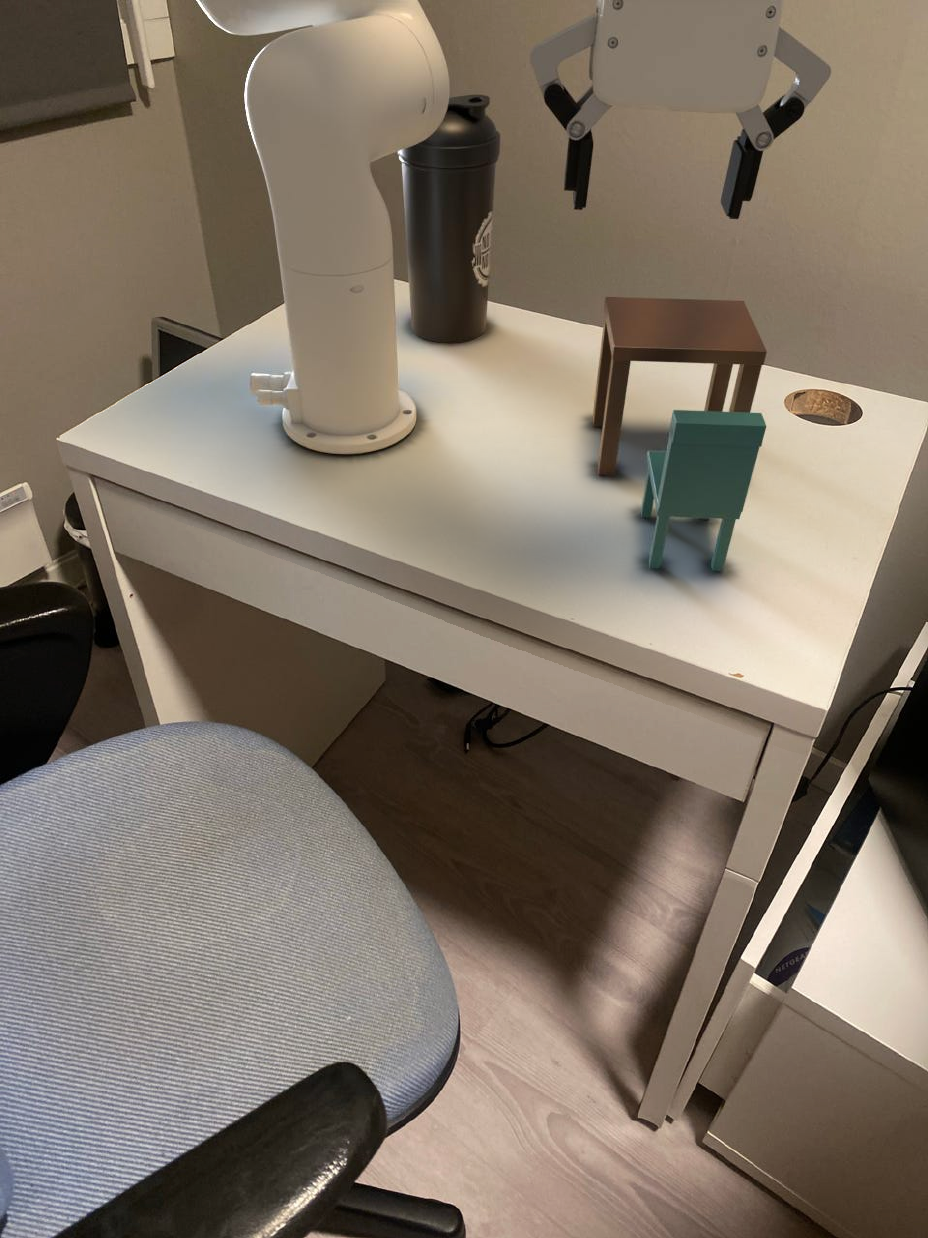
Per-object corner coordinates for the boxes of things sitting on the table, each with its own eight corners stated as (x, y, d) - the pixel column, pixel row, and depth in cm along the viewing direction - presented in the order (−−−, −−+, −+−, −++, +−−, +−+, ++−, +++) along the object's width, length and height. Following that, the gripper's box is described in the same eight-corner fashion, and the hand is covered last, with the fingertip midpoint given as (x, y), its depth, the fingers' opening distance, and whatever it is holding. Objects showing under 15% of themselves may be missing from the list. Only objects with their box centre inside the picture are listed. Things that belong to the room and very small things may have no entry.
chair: (726, 577, 68) (766, 425, 60) (647, 574, 69) (676, 422, 60) (709, 513, 75) (743, 367, 66) (637, 510, 75) (661, 364, 66)
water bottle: (484, 350, 97) (491, 111, 82) (393, 341, 99) (383, 105, 83) (500, 312, 105) (509, 87, 89) (415, 304, 106) (410, 82, 91)
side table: (597, 475, 79) (614, 346, 71) (591, 419, 86) (605, 296, 78) (735, 480, 78) (767, 351, 70) (716, 423, 86) (744, 300, 78)
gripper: (864, -138, 48) (777, 195, 60) (544, -155, 49) (520, 180, 60) (906, -129, 43) (801, 236, 55) (545, -148, 43) (518, 219, 55)
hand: (653, 207), depth 57 cm, fingers open, 9 cm apart
